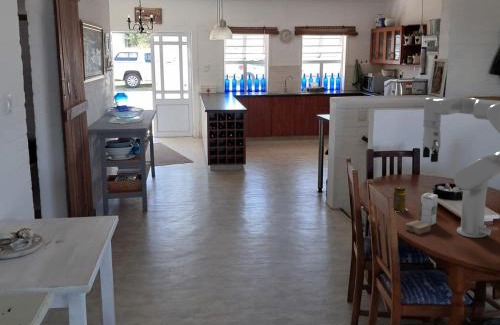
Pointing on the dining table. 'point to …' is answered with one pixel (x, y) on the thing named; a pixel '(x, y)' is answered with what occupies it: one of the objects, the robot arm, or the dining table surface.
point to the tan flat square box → (418, 227)
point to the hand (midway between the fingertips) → (430, 159)
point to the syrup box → (428, 208)
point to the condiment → (399, 199)
